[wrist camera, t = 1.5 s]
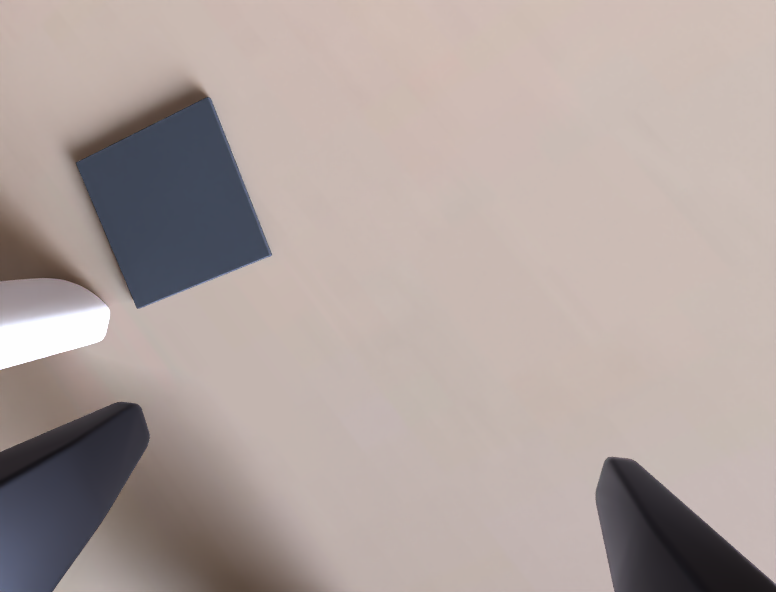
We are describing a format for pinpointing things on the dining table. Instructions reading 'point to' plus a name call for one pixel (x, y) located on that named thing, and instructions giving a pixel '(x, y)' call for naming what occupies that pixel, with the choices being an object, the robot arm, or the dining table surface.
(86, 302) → the eye dropper bottle
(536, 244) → the dining table surface
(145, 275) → the coaster
